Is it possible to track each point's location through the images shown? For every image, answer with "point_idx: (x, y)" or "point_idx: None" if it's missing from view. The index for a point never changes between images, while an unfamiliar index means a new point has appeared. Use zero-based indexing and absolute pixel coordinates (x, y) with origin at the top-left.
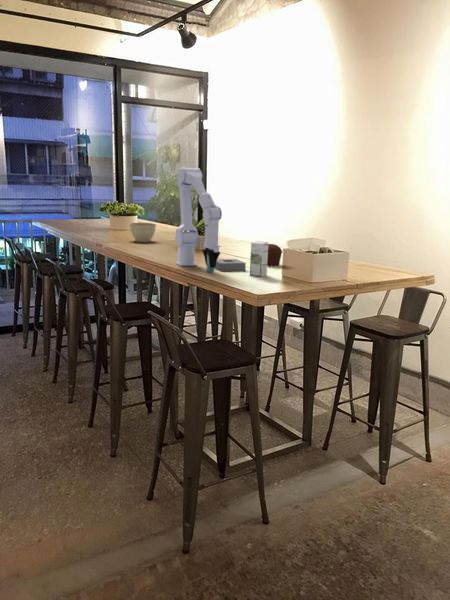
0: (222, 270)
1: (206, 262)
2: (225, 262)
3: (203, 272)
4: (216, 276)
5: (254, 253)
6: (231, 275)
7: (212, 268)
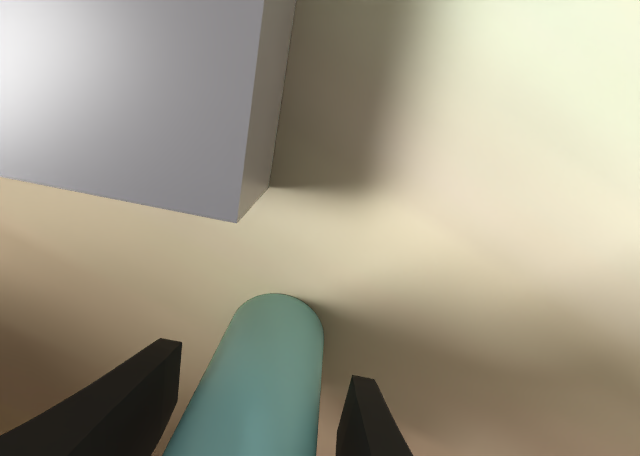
0: (271, 153)
1: (152, 448)
2: (133, 31)
3: None
4: (567, 413)
5: None
6: (627, 211)
7: (320, 370)
